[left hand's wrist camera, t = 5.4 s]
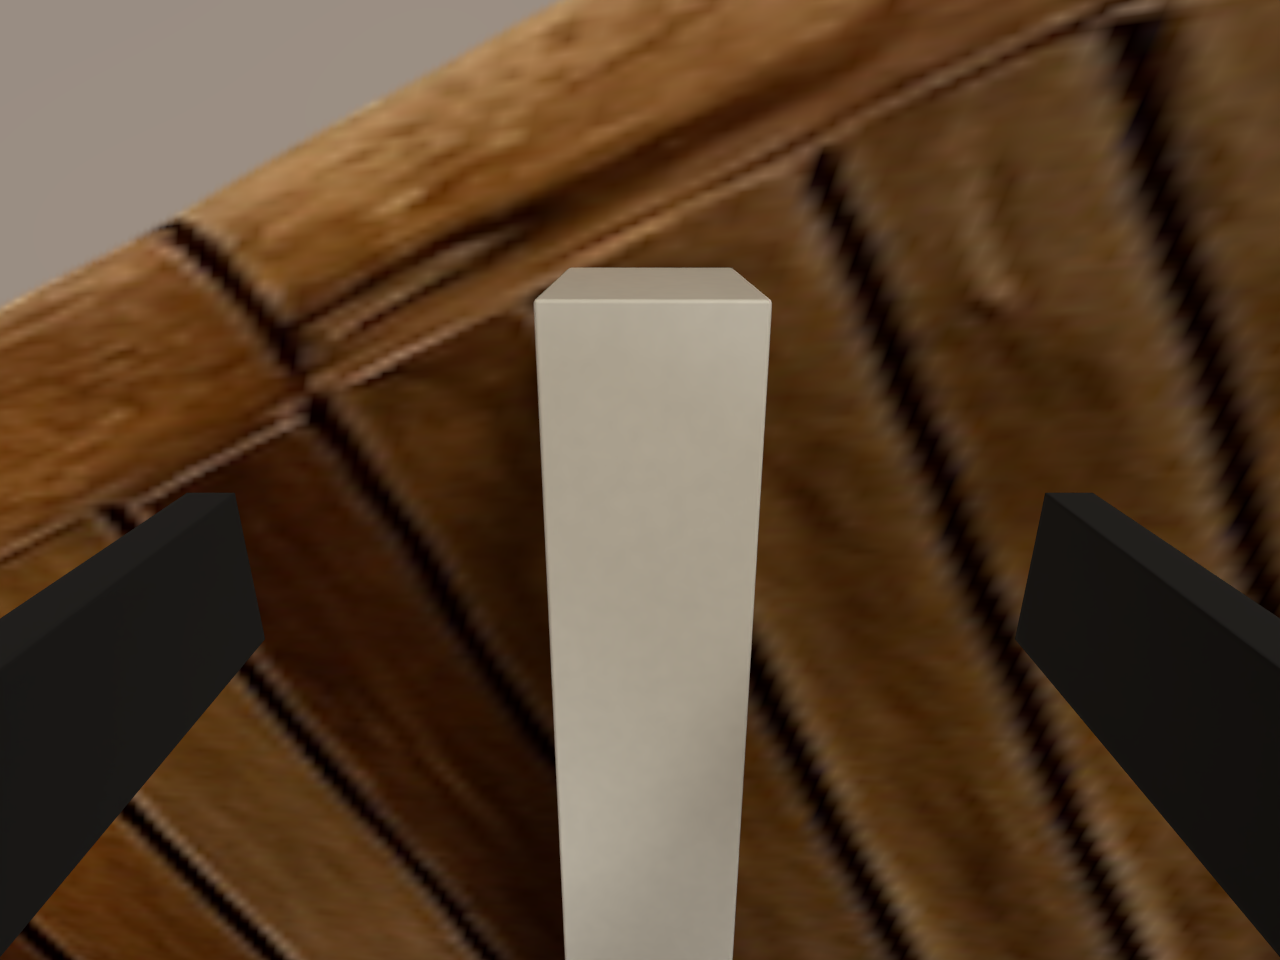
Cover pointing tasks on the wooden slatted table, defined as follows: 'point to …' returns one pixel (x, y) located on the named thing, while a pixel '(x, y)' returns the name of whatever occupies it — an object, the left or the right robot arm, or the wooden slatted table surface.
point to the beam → (650, 595)
